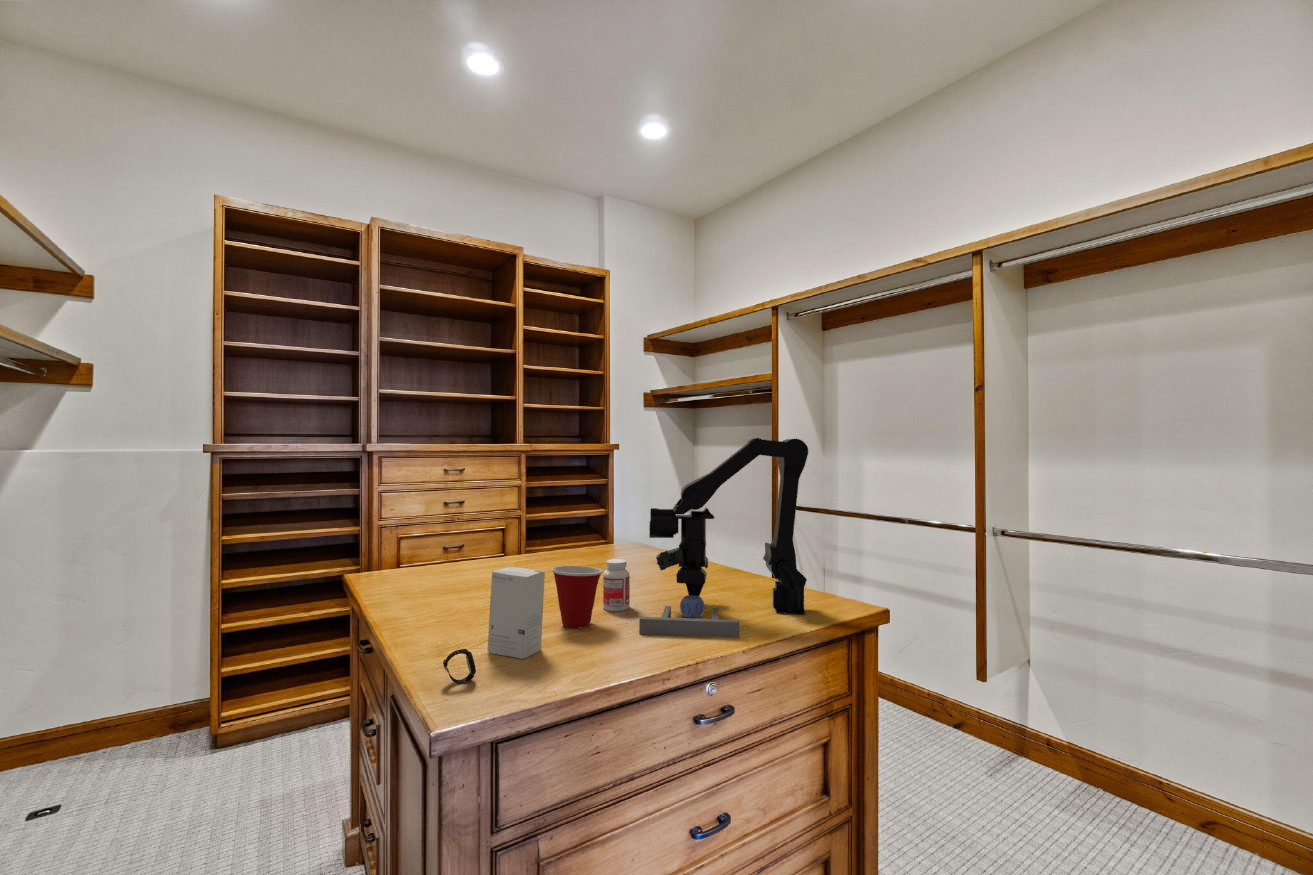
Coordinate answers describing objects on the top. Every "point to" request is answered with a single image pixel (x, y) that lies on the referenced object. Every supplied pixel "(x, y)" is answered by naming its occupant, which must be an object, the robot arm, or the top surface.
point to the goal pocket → (689, 626)
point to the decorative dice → (692, 606)
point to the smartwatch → (469, 662)
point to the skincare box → (516, 612)
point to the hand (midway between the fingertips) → (693, 605)
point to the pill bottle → (616, 586)
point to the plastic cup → (576, 593)
